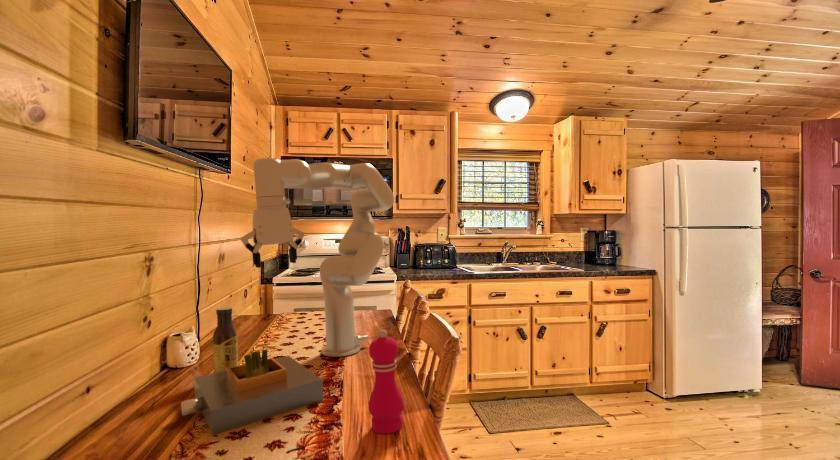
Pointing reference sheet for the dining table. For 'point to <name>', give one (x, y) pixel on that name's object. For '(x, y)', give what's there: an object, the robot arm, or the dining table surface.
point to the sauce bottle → (224, 341)
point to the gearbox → (252, 394)
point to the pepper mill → (385, 386)
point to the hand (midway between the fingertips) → (276, 264)
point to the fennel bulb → (256, 363)
